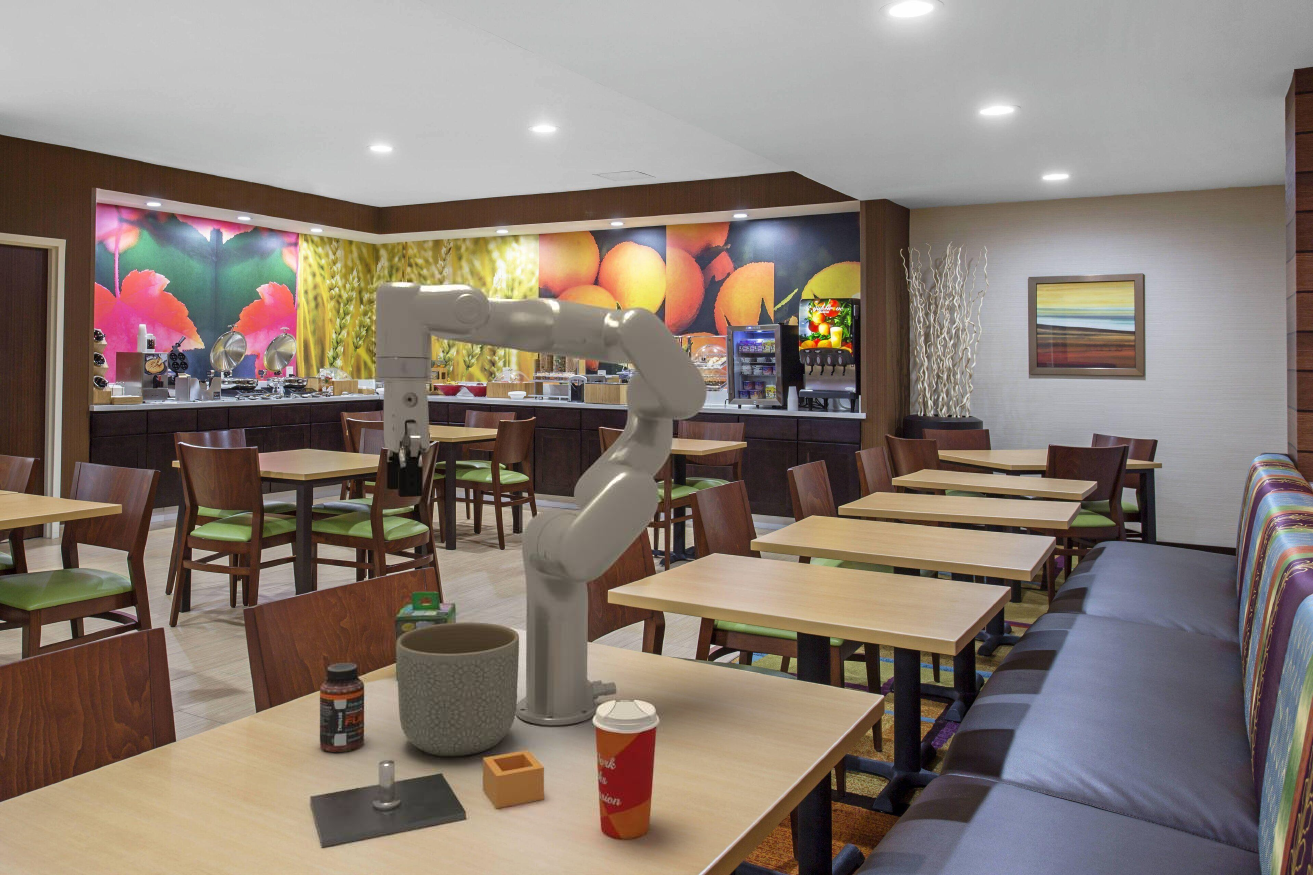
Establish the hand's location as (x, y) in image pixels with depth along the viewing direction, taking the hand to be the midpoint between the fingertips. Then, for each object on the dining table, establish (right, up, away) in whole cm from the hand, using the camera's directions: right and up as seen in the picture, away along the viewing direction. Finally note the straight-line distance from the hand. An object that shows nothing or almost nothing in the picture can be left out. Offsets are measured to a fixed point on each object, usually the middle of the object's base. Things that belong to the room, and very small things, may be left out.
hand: (404, 492), depth 130 cm
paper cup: (+32, -38, -24) cm, 55 cm away
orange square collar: (+18, -37, -15) cm, 44 cm away
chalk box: (-5, -34, +32) cm, 47 cm away
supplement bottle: (-9, -36, -1) cm, 37 cm away
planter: (+8, -36, +1) cm, 37 cm away
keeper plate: (+4, -37, -20) cm, 42 cm away
